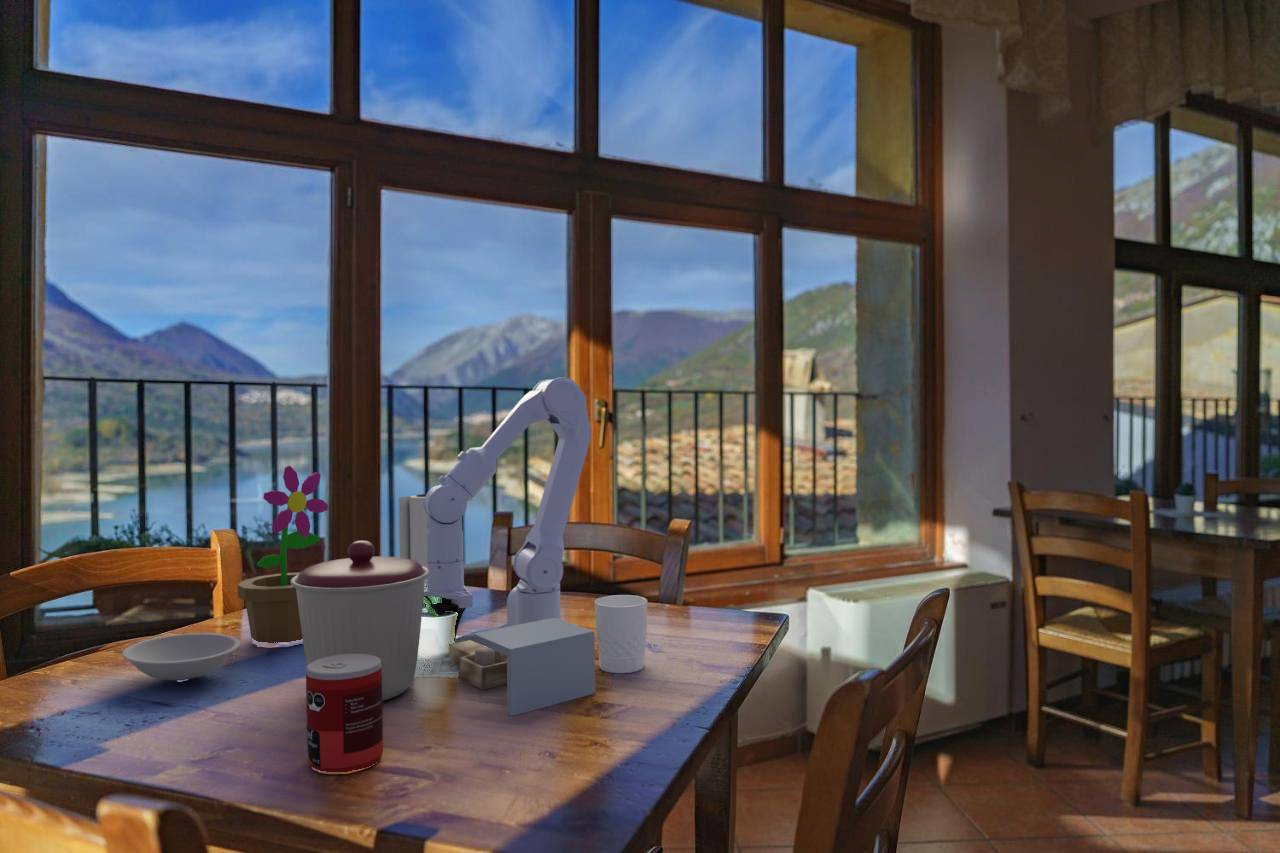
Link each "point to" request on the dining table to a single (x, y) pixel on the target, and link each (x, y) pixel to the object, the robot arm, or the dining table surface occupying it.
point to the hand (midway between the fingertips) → (446, 644)
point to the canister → (364, 611)
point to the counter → (544, 662)
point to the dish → (181, 654)
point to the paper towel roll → (413, 529)
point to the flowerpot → (274, 594)
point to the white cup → (621, 632)
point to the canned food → (344, 712)
